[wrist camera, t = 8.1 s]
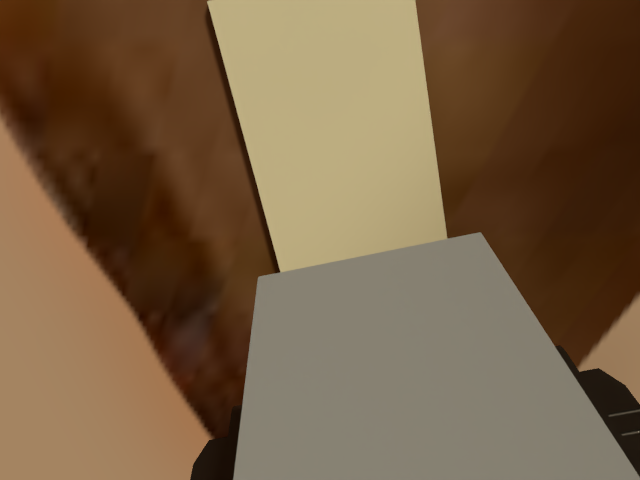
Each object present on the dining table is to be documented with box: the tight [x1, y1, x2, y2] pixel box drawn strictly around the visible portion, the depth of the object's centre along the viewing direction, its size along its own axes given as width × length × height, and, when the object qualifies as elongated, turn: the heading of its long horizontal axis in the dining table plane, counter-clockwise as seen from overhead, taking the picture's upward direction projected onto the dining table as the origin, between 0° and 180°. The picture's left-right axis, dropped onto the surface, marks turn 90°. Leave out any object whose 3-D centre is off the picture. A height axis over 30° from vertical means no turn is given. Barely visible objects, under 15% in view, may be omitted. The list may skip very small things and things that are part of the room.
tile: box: [207, 0, 447, 272], centre depth 27 cm, size 8×14×1 cm, turn 12°
